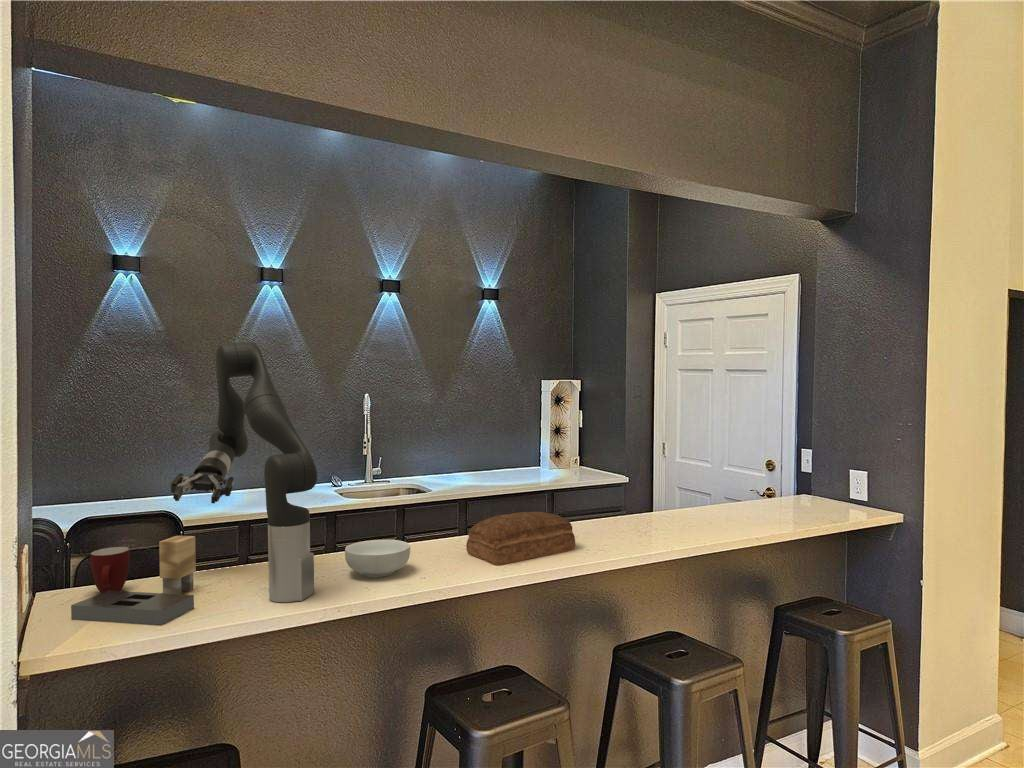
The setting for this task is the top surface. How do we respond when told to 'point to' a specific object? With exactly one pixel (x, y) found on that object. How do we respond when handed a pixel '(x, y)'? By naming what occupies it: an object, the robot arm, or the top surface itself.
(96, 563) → the mug
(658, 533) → the top surface
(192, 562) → the tan wooden tall block
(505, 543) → the bread
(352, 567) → the cereal bowl
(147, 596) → the dark grey slab
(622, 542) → the top surface
